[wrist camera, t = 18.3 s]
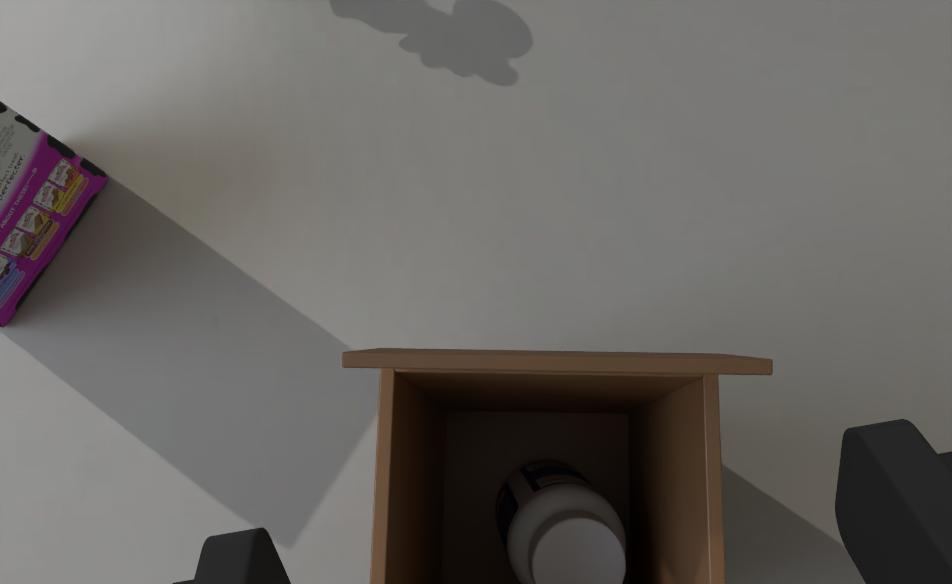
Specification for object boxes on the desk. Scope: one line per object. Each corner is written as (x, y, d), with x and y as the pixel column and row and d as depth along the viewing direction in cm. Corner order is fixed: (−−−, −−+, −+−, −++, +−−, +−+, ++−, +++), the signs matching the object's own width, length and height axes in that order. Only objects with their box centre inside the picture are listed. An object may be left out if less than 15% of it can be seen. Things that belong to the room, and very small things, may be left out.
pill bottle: (543, 579, 44) (579, 658, 34) (472, 508, 43) (488, 567, 34) (614, 507, 44) (670, 564, 34) (545, 436, 44) (580, 473, 34)
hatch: (378, 360, 26) (378, 348, 26) (721, 366, 26) (721, 353, 26) (341, 367, 21) (342, 352, 21) (773, 375, 20) (773, 359, 20)
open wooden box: (438, 401, 46) (380, 356, 27) (636, 405, 45) (717, 362, 26) (431, 608, 44) (362, 717, 25) (639, 615, 43) (732, 733, 24)
